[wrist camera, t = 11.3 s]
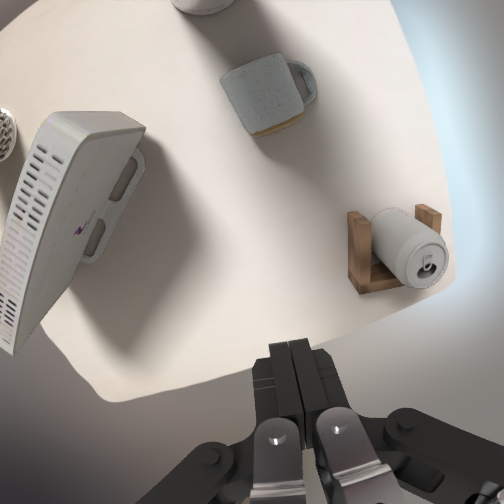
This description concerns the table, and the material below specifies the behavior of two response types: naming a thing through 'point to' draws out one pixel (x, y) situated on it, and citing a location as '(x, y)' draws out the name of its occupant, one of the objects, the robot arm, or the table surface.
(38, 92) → the table surface
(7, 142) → the decorative candle
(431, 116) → the table surface
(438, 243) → the can
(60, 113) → the network device
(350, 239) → the dock
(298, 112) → the ceramic mug
